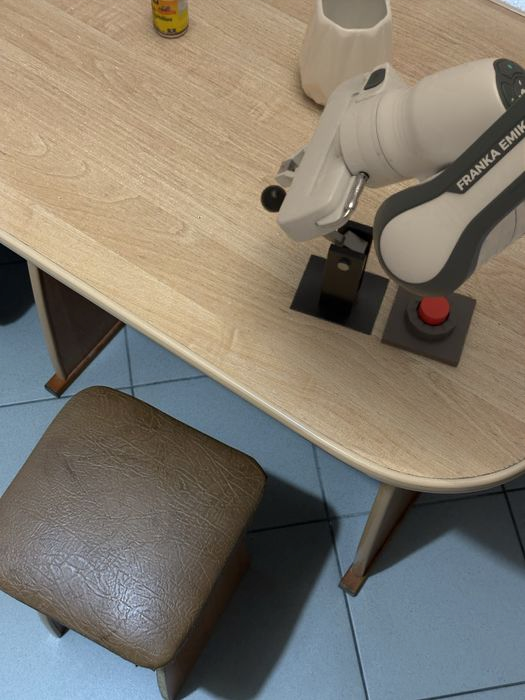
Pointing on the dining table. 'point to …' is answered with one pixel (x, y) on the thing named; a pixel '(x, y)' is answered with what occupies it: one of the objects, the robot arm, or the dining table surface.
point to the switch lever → (273, 202)
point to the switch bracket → (342, 285)
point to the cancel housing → (429, 327)
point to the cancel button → (433, 310)
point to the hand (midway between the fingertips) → (282, 173)
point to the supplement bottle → (170, 17)
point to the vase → (344, 44)
